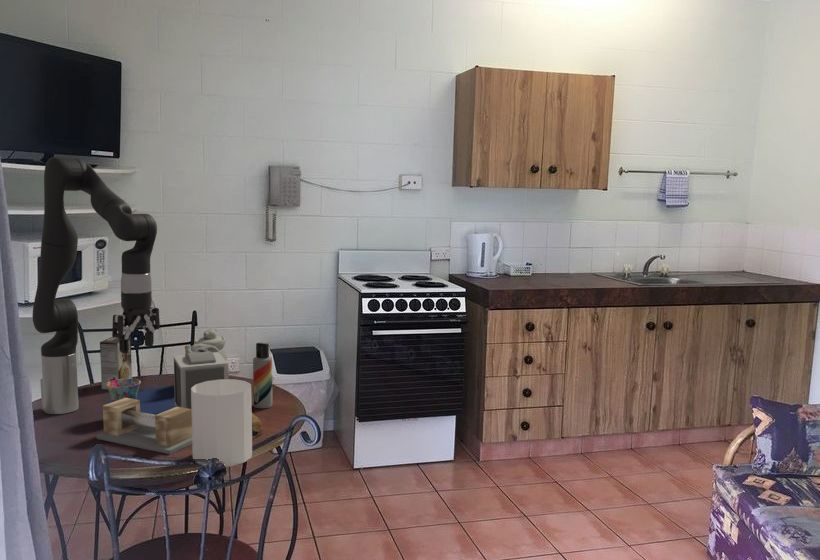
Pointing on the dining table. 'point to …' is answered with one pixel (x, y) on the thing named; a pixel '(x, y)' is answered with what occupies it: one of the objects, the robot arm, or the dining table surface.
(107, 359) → the coffee box
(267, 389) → the lotion bottle
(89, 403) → the dining table surface
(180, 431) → the socket block
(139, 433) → the base mat
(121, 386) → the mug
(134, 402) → the guide block
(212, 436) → the container
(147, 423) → the tube
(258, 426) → the bread roll
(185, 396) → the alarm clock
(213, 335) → the grey lumpy piece
